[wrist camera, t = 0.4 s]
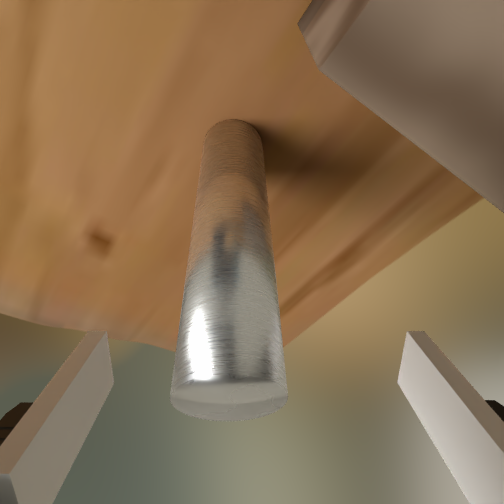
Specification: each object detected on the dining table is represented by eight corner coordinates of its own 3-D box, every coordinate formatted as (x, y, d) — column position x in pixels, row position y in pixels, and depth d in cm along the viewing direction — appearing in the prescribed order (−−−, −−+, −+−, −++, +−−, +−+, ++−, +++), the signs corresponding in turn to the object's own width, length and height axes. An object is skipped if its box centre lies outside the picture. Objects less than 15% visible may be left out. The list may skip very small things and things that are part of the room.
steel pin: (200, 119, 22) (159, 376, 11) (262, 119, 22) (292, 372, 11) (206, 173, 25) (179, 422, 13) (261, 172, 25) (284, 419, 13)
